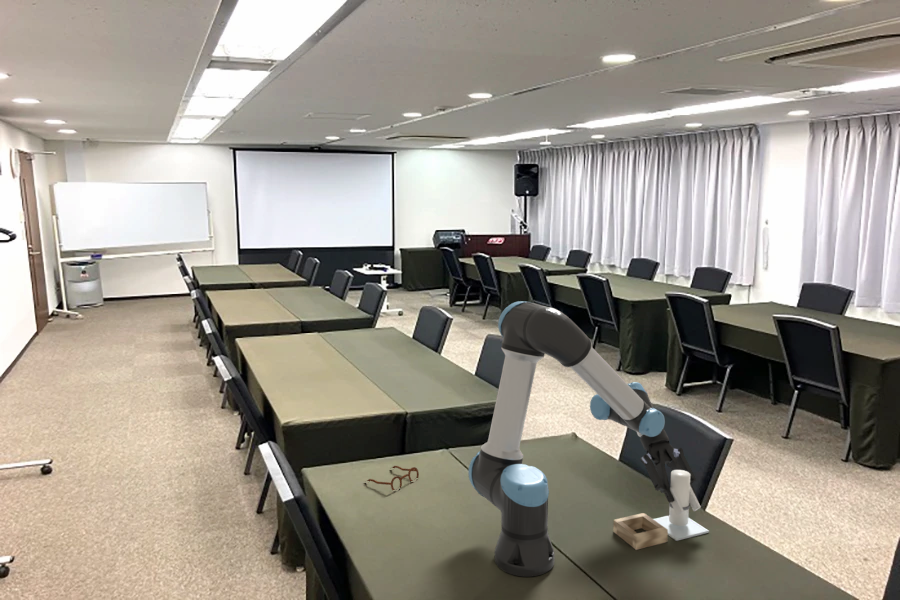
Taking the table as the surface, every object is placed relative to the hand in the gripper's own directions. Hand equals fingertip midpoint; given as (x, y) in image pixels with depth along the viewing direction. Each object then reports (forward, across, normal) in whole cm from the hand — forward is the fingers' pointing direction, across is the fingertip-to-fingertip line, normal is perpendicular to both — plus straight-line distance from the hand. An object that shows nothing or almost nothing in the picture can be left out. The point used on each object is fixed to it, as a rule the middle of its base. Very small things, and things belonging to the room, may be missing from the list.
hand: (688, 511), depth 174 cm
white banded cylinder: (+1, 0, -6) cm, 6 cm away
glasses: (-40, +65, -50) cm, 92 cm away
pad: (+2, 0, -7) cm, 7 cm away
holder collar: (+2, +13, -7) cm, 15 cm away
